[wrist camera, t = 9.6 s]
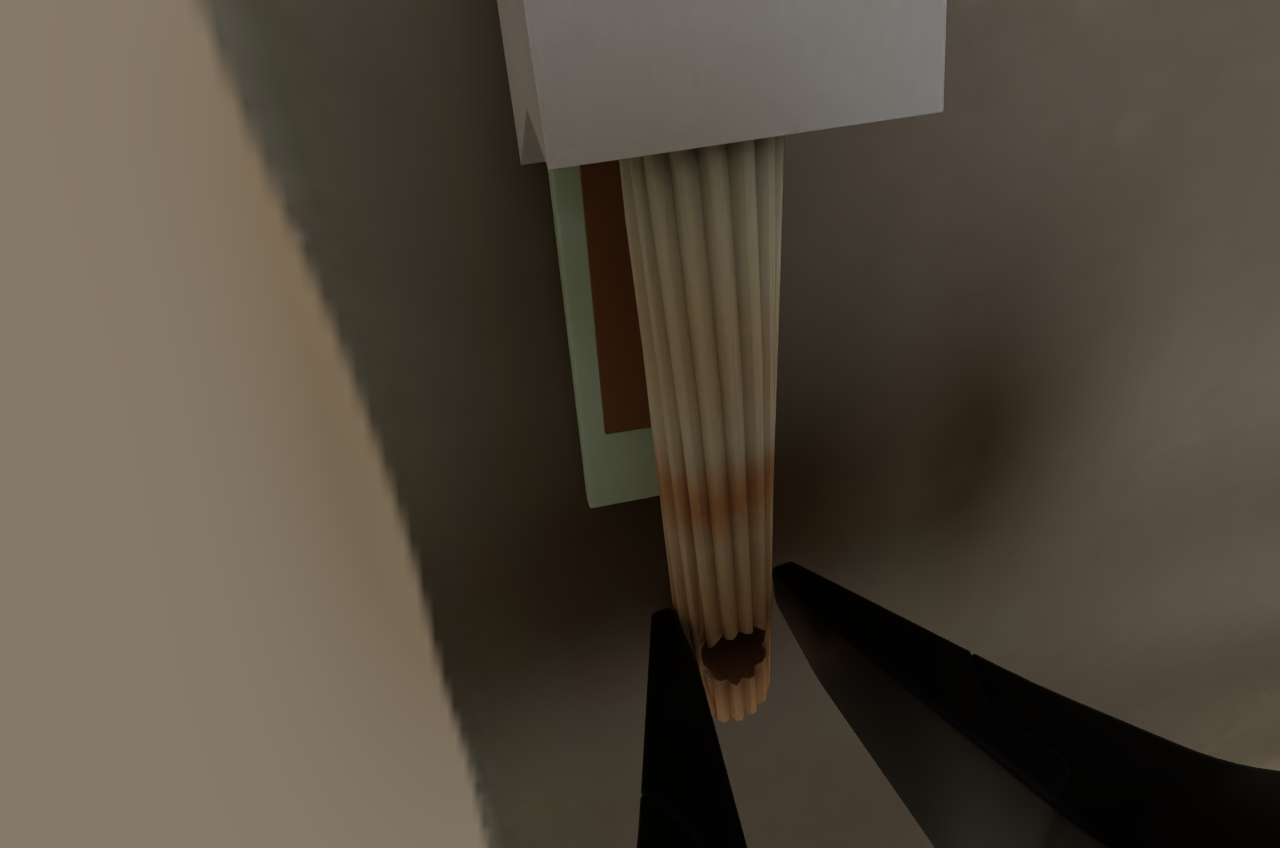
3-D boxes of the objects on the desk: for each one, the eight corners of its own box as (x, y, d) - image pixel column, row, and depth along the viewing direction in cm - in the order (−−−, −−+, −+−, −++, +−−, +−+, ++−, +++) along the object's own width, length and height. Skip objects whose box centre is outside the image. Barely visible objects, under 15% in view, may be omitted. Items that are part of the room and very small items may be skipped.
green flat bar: (742, 468, 10) (753, 481, 10) (586, 498, 9) (590, 513, 9) (795, -969, 4) (829, -1109, 4) (389, -1164, 4) (374, -1357, 3)
